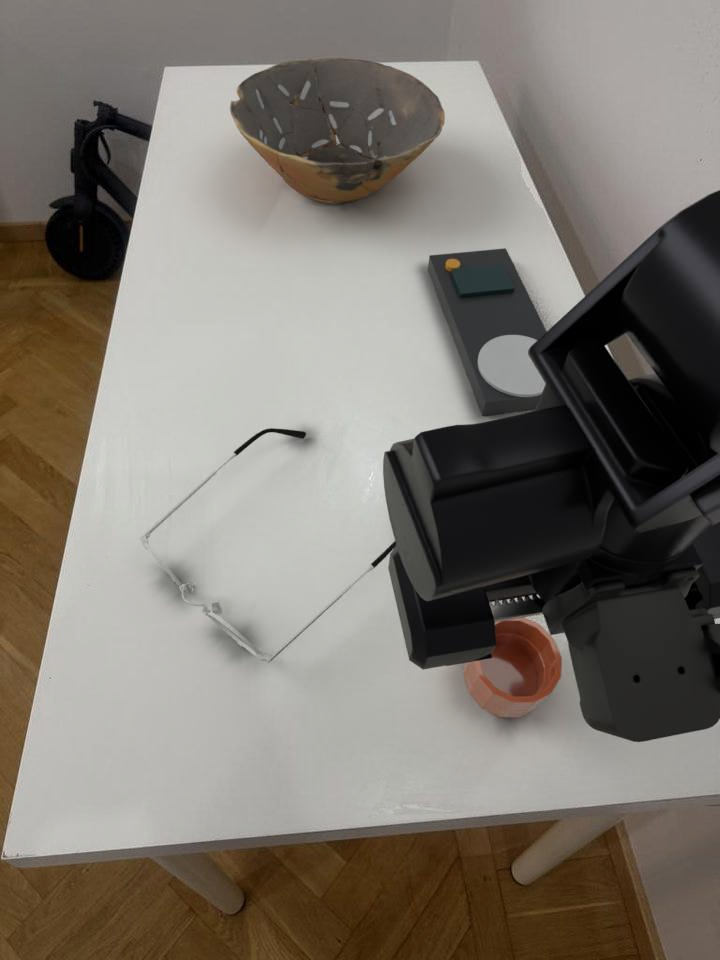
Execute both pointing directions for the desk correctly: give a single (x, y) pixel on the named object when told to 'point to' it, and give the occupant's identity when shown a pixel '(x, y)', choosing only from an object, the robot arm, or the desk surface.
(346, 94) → the bowl
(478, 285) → the scale
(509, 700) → the terracotta cup
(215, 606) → the eyeglasses
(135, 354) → the desk surface
